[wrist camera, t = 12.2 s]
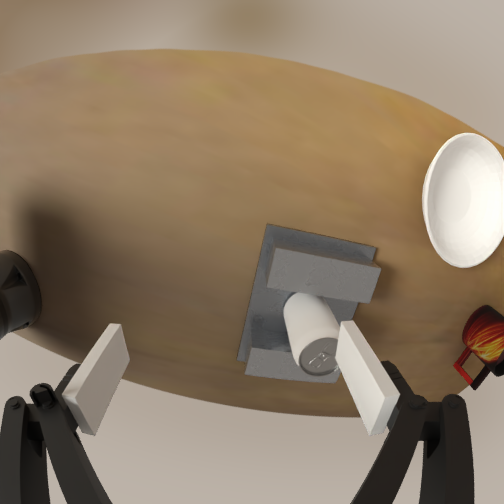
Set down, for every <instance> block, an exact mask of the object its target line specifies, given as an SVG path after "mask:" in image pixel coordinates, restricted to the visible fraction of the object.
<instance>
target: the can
mask: <svg viewBox="0 0 504 504" xmlns="http://www.w3.org/2000/svg"><path fill="white" fill-rule="evenodd" d="M284 319H285V324H286V328H287V332H288V337H289V341H290V345H291V350H292V354H293V357H294V360H295V362H296V364H297V365H298V366H299V367H300V369H301V370H302V371H303V372H304V373H305V374H307V375H309V376H312V377H324V376H328V375H330V374H332V373H334V372H336V371H337V370H338V369H340V368H339V366H338V363H337V361H336V359H335V356H336V350H337V345H338V339H339V332H340V326H339V324H338V322H337V321H336V319H335V317H334V315H333V313H332V311H331V309H330V308H329V306H328V304H327V302H326V300H325V299H324V297H322V296H316V295H310V294H304V293H296V294H294V295H293V296H291V297H290V298H289V299H288V301H287V302H286V304H285V306H284Z"/></svg>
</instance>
